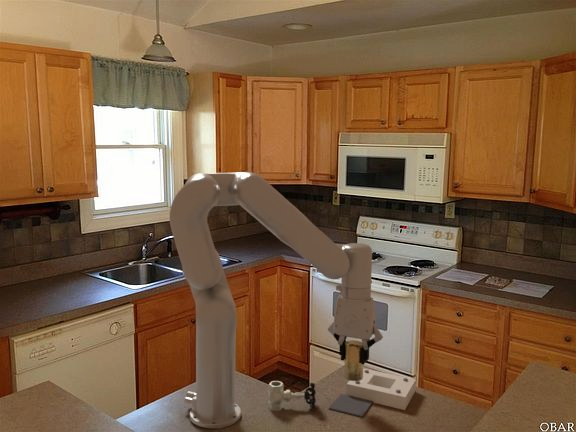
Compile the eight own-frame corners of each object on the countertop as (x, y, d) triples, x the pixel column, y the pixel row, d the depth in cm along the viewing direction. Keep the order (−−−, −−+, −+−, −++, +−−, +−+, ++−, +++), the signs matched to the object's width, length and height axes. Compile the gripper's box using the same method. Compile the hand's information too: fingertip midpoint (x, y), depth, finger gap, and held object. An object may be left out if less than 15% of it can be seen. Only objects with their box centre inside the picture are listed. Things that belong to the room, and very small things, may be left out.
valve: (267, 414, 130) (315, 414, 131) (268, 389, 129) (316, 389, 130) (267, 402, 137) (312, 401, 137) (267, 378, 136) (313, 377, 137)
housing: (346, 396, 141) (346, 382, 140) (360, 379, 151) (360, 366, 151) (404, 410, 134) (405, 395, 133) (415, 391, 144) (415, 378, 144)
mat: (328, 409, 133) (328, 407, 133) (341, 394, 141) (341, 393, 141) (362, 417, 129) (362, 416, 129) (372, 402, 137) (373, 401, 137)
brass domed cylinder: (341, 378, 133) (342, 345, 132) (347, 371, 138) (348, 339, 137) (359, 382, 131) (360, 348, 130) (365, 375, 136) (366, 342, 135)
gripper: (319, 291, 132) (318, 359, 134) (384, 300, 125) (381, 372, 127) (330, 284, 139) (328, 349, 141) (392, 292, 131) (390, 361, 134)
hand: (354, 359), depth 134 cm, fingers closed on brass domed cylinder, 4 cm apart
